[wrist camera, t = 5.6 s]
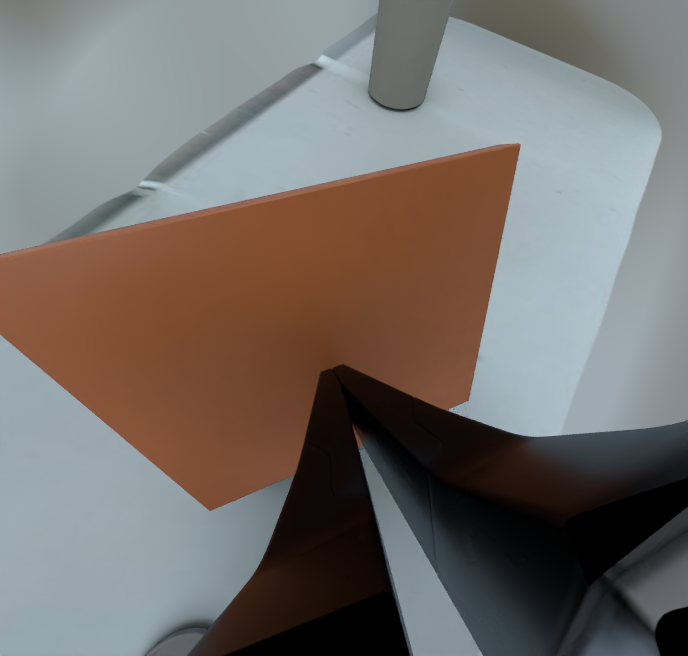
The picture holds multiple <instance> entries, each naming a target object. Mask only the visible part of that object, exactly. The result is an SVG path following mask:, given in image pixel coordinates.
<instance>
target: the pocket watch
mask: <svg viewBox="0 0 688 656" xmlns="http://www.w3.org/2000/svg"><path fill="white" fill-rule="evenodd" d="M206 632H207V629H205V628H189V629H183V630H180V631H178V632H175V633H173V634H171V635H169V636H168V637H166V638H165V639H163V640H162V641H160V642H159V643H158V644H157V645H155V646H154V647H153V648H151V649H150V650H149V651H148V653H147V654H146V655H145V656H187V654H188V653H189V652H190V651H191V650H192V648H193V647H194V646H195V645H196V644H197V642H198V641H199V640H200V639H201V638H202V636H203V635H204V634H205V633H206Z"/></svg>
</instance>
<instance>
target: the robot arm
mask: <svg viewBox="0 0 688 656" xmlns="http://www.w3.org/2000/svg"><path fill="white" fill-rule="evenodd" d="M353 428H354V429H355V431H356V433H357V435H358V437H359V439H360V440H361V442H362V444H363V446H364V447H365V449H366V451H367V453H368V454H369V456H370V458H371V460H372V461H373V463H374V465H375V467H376V468H377V470H378V472H379V474H380V475H381V477H382V479H383V481H384V482H385V484H386V486H387V488H388V489H389V491H390V493H391V495H392V496H393V498H394V500H395V502H396V503H397V505H398V507H399V509H400V510H401V512H402V514H403V516H404V517H405V519H406V521H407V523H408V524H409V526H410V528H411V530H412V531H413V533H414V535H415V537H416V538H417V540H418V542H419V544H420V546H421V547H422V549H423V551H424V553H425V554H426V556H427V558H428V560H429V561H430V563H431V565H432V567H433V568H434V570H435V572H436V573H437V574H438V577H439V579H440V581H441V582H442V584H443V586H444V588H445V589H446V591H447V593H448V595H449V597H450V598H451V600H452V602H453V604H454V605H455V607H456V609H457V611H458V612H459V614H460V616H461V618H462V619H463V621H464V623H465V625H466V626H467V628H468V630H469V632H470V633H471V635H472V637H473V639H474V640H475V642H476V644H477V646H478V647H479V649H480V651H481V653H482V654H483V656H688V420H686V421H684V422H680V423H676V424H672V425H666V426H661V427H654V428H646V429H637V430H624V431H611V432H598V433H585V434H572V435H560V436H547V437H529V436H522V435H518V434H513V433H510V432H507V431H503V430H501V429H498V428H495V427H492V426H489V425H486V424H483V423H480V422H477V421H475V420H472V419H469V418H466V417H463V416H460V415H457V414H455V413H452V412H449V411H447V410H444V409H441V408H439V407H436V406H434V405H432V404H429V403H427V402H425V401H423V400H420V399H418V398H416V397H413V396H412V395H409V394H407V393H405V392H403V391H401V390H399V389H396V388H394V387H392V386H390V385H388V384H385V383H383V382H381V381H379V380H377V379H375V378H372V377H370V376H368V375H366V374H364V373H362V372H359V371H357V370H355V369H353V368H351V367H349V366H346V365H344V364H341V365H338V366H335V367H333V368H332V369H331V368H330V369H327V370H324V371H321V372H320V376H319V380H318V384H317V388H316V392H315V397H314V401H313V405H312V409H311V414H310V418H309V422H308V426H307V430H306V435H305V439H304V443H303V447H302V451H301V455H300V459H299V462H298V466H297V469H296V472H295V475H294V478H293V481H292V484H291V487H290V490H289V492H288V495H287V498H286V500H285V503H284V506H283V508H282V511H281V513H280V516H279V519H278V521H277V524H276V527H275V529H274V532H273V535H272V537H271V540H270V543H269V545H268V548H267V550H266V552H265V554H264V556H263V558H262V561H261V562H260V564H259V566H258V568H257V570H256V571H255V573H254V574H253V576H252V577H251V579H250V580H249V581H248V582H247V584H246V585H245V586H244V587H243V588H242V590H241V591H240V592H239V593H238V594H237V596H236V597H235V598H234V599H233V600H232V602H231V603H230V604H229V605H228V606H227V608H226V609H225V610H224V611H223V612H222V614H221V615H220V616H219V617H218V618H217V620H216V621H215V622H214V623H213V624H212V626H211V627H210V628H209V629H208V630H207V632H206V633H205V634H204V635H203V636H202V638H201V639H200V640H199V641H198V642H197V644H196V645H195V646H194V647H193V648H192V650H191V651H190V652H189V653H188V654H187V656H413V653H412V649H411V645H410V641H409V638H408V634H407V630H406V626H405V622H404V619H403V615H402V611H401V607H400V603H399V600H398V596H397V592H396V588H395V584H394V581H393V577H392V573H391V569H390V565H389V562H388V558H387V554H386V550H385V546H384V543H383V539H382V535H381V531H380V527H379V524H378V520H377V516H376V512H375V509H374V505H373V501H372V497H371V493H370V490H369V486H368V482H367V478H366V474H365V471H364V467H363V463H362V459H361V455H360V452H359V448H358V444H357V440H356V436H355V433H354V429H353Z"/></svg>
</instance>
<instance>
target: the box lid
mask: <svg viewBox="0 0 688 656" xmlns="http://www.w3.org/2000/svg"><path fill="white" fill-rule="evenodd" d="M520 146H521V145H520V144H504V145H496V146H491V147H487V148H482V149H478V150H473V151H468V152H464V153H459V154H455V155H450V156H446V157H441V158H437V159H432V160H427V161H423V162H418V163H414V164H409V165H405V166H400V167H395V168H391V169H386V170H382V171H377V172H373V173H368V174H364V175H359V176H354V177H350V178H345V179H341V180H336V181H332V182H327V183H322V184H318V185H313V186H309V187H304V188H300V189H295V190H291V191H286V192H281V193H277V194H272V195H268V196H263V197H259V198H254V199H249V200H245V201H240V202H236V203H231V204H227V205H222V206H218V207H213V208H208V209H204V210H199V211H195V212H190V213H186V214H181V215H176V216H172V217H167V218H163V219H158V220H154V221H149V222H145V223H140V224H135V225H131V226H126V227H122V228H117V229H113V230H108V231H103V232H99V233H94V234H90V235H85V236H81V237H76V238H72V239H67V240H62V241H58V242H53V243H49V244H44V245H40V246H35V247H30V248H26V249H21V250H17V251H12V252H8V253H3V254H0V335H1V336H3V337H4V338H5V339H6V340H7V341H9V342H10V343H11V344H12V345H13V346H15V347H16V348H17V349H18V350H19V351H20V352H22V353H23V354H24V355H25V356H26V357H28V358H29V359H30V360H31V361H32V362H34V363H35V364H36V365H37V366H38V367H39V368H41V369H42V370H43V371H44V372H45V373H47V374H48V375H49V376H50V377H51V378H53V379H54V380H55V381H56V382H57V383H58V384H60V385H61V386H62V387H63V388H64V389H66V390H67V391H68V392H69V393H70V394H71V395H73V396H74V397H75V398H76V399H77V400H79V401H80V402H81V403H82V404H83V405H85V406H86V407H87V408H88V409H89V410H90V411H92V412H93V413H94V414H95V415H96V416H98V417H99V418H100V419H101V420H102V421H104V422H105V423H106V424H107V425H108V426H109V427H111V428H112V429H113V430H114V431H115V432H117V433H118V434H119V435H120V436H121V437H123V438H124V439H125V440H126V441H127V442H128V443H130V444H131V445H132V446H133V447H134V448H136V449H137V450H138V451H139V452H140V453H142V454H143V455H144V456H145V457H146V458H147V459H149V460H150V461H151V462H152V463H153V464H155V465H156V466H157V467H158V468H159V469H161V470H162V471H163V472H164V473H165V474H166V475H168V476H169V477H170V478H171V479H172V480H174V481H175V482H176V483H177V484H178V485H180V486H181V487H182V488H183V489H184V490H185V491H187V492H188V493H189V494H190V495H191V496H193V497H194V498H195V499H196V500H197V501H198V502H200V503H201V504H202V505H203V506H204V507H206V508H207V509H208V510H209V511H211V510H214V509H216V508H218V507H221V506H223V505H225V504H228V503H230V502H232V501H235V500H237V499H239V498H242V497H244V496H246V495H249V494H251V493H253V492H256V491H258V490H260V489H263V488H265V487H267V486H270V485H272V484H274V483H277V482H279V481H281V480H284V479H286V478H288V477H291V476H293V475H295V472H296V469H297V466H298V462H299V459H300V455H301V451H302V447H303V443H304V439H305V435H306V430H307V426H308V422H309V418H310V414H311V409H312V405H313V401H314V397H315V392H316V388H317V384H318V380H319V376H320V372H321V371H324V370H327V369H330V368H331V369H332V368H333V367H335V366H338V365H341V364H344V365H346V366H349V367H351V368H353V369H355V370H357V371H359V372H362V373H364V374H366V375H368V376H370V377H372V378H375V379H377V380H379V381H381V382H383V383H385V384H388V385H390V386H392V387H394V388H396V389H399V390H401V391H403V392H405V393H407V394H409V395H412V396H413V397H416V398H418V399H420V400H423V401H425V402H427V403H429V404H432V405H434V406H436V407H439V408H441V409H444V410H447V409H450V408H452V407H454V406H457V405H459V404H461V403H464V402H466V401H468V400H469V396H470V391H471V386H472V381H473V376H474V371H475V367H476V362H477V357H478V352H479V347H480V342H481V337H482V332H483V327H484V322H485V318H486V313H487V308H488V303H489V298H490V293H491V288H492V283H493V278H494V273H495V268H496V264H497V259H498V254H499V249H500V244H501V239H502V234H503V229H504V224H505V219H506V214H507V210H508V205H509V200H510V195H511V190H512V185H513V180H514V175H515V170H516V165H517V160H518V156H519V151H520ZM353 429H354V428H353ZM354 433H355V436H356V440H357V444H358V448H359V447H361V446H363V444H362V442H361V440H360V439H359V437H358V435H357V433H356V431H355V429H354Z"/></svg>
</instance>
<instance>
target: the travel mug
mask: <svg viewBox="0 0 688 656" xmlns="http://www.w3.org/2000/svg"><path fill="white" fill-rule="evenodd" d="M453 1H454V0H379V8H378V15H377V24H376V32H375V40H374V48H373V56H372V64H371V72H370V80H369V93H370V94H371V96H372V97H373V98H374V99H375V100H376V101H377V102H379V103H380V104H382V105H384V106H386V107H389V108H392V109H409V108H413V107H416V106H418V105H419V104H421V103H422V102H423V100H424V98H425V95H426V92H427V88H428V85H429V81H430V78H431V75H432V71H433V68H434V65H435V61H436V58H437V55H438V51H439V48H440V45H441V41H442V38H443V34H444V31H445V28H446V24H447V21H448V18H449V14H450V10H451V7H452V4H453Z"/></svg>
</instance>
